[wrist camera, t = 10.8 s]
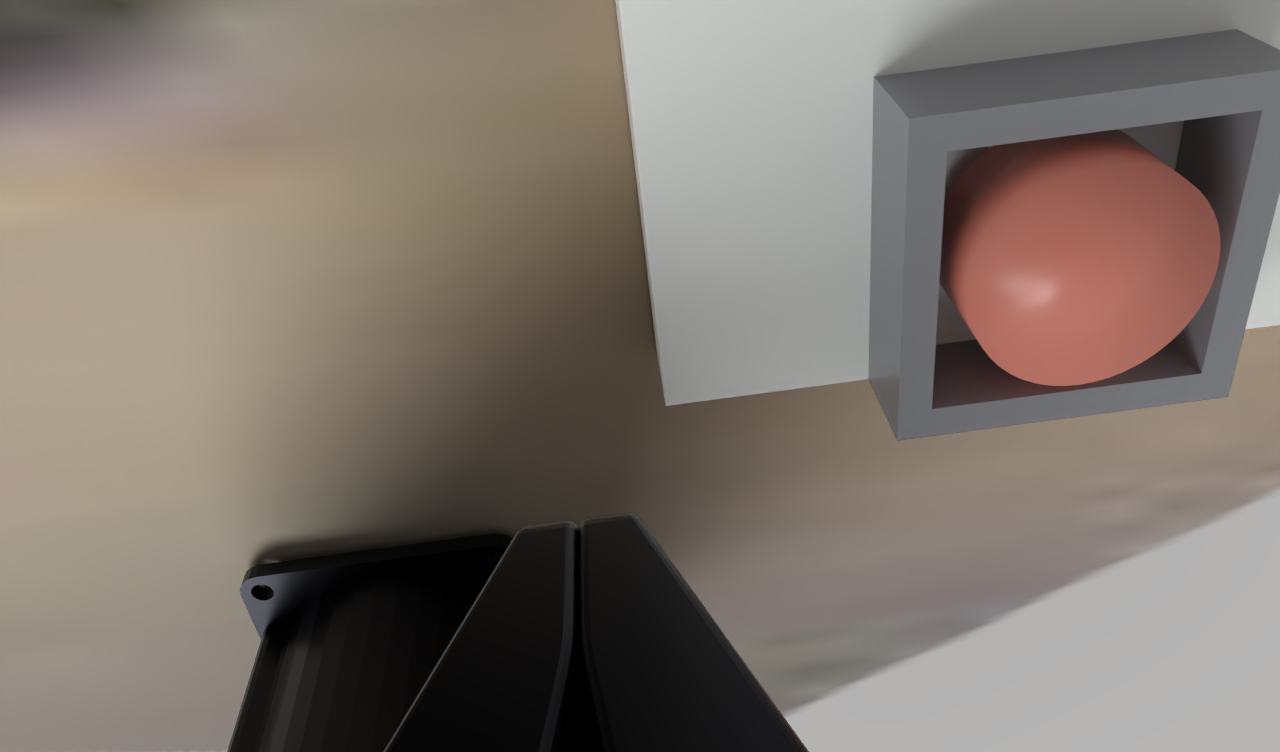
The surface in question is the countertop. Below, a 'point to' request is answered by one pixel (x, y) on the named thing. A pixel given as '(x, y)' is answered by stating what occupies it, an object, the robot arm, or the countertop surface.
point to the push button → (1076, 255)
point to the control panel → (924, 184)
